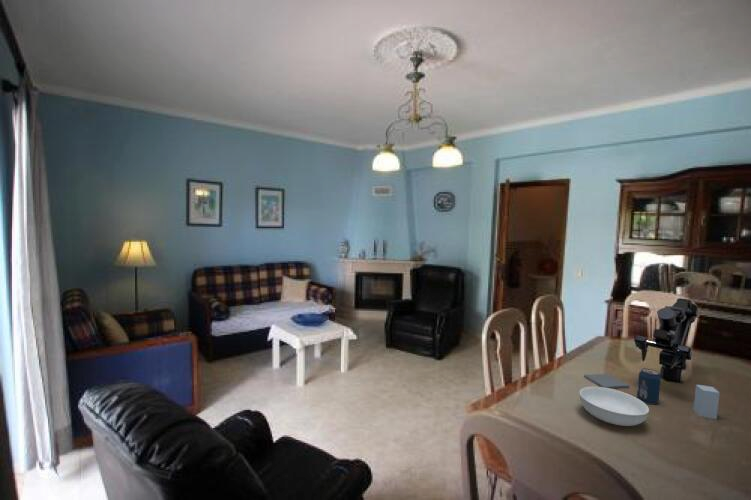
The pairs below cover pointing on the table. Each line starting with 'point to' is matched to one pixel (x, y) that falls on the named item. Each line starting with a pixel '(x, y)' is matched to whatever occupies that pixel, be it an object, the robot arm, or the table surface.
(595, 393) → the serving bowl
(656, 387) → the soda can
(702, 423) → the table surface
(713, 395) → the gray block
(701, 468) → the table surface
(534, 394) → the table surface
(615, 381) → the mat
